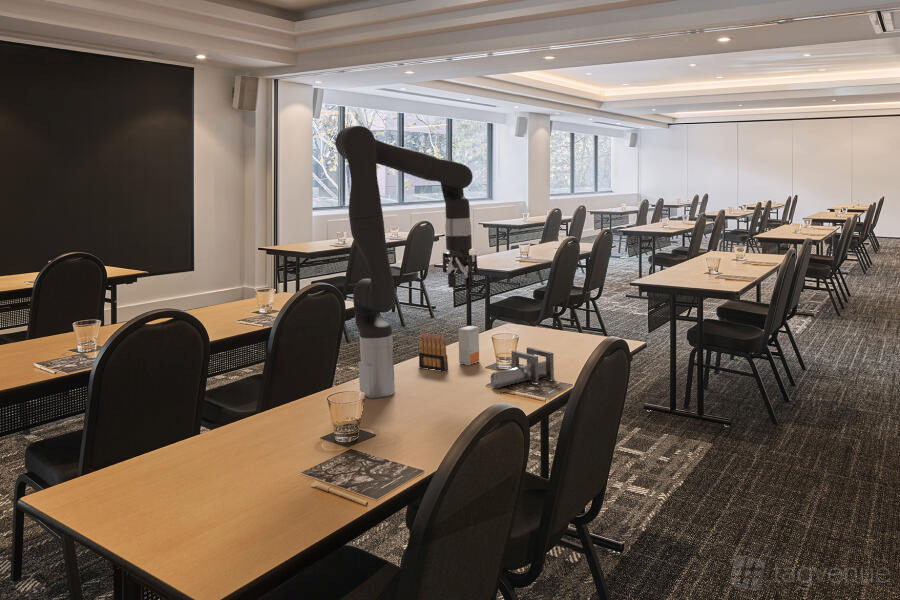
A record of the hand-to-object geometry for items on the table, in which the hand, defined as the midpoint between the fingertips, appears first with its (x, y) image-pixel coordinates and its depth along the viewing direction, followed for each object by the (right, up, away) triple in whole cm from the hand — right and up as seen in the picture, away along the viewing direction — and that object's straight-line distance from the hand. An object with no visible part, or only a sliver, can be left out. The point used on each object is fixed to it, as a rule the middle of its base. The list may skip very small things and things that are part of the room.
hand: (460, 288), depth 218 cm
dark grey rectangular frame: (+24, -27, +5) cm, 36 cm away
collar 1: (+19, -28, +1) cm, 34 cm away
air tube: (+18, -28, +1) cm, 33 cm away
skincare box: (+3, -24, +25) cm, 35 cm away
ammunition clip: (-8, -26, +20) cm, 34 cm away
